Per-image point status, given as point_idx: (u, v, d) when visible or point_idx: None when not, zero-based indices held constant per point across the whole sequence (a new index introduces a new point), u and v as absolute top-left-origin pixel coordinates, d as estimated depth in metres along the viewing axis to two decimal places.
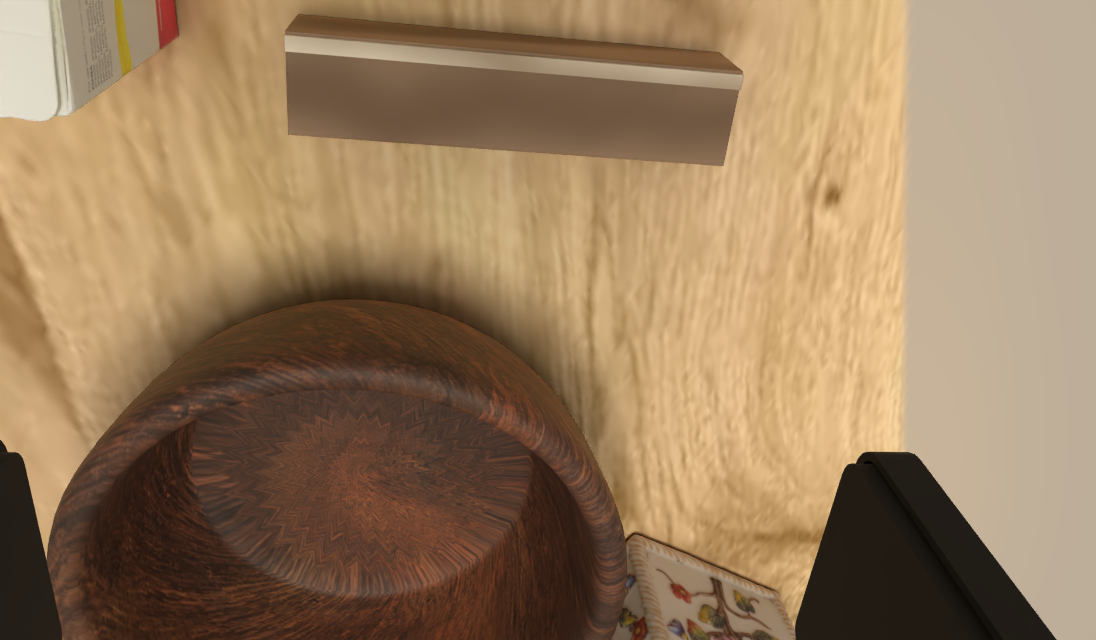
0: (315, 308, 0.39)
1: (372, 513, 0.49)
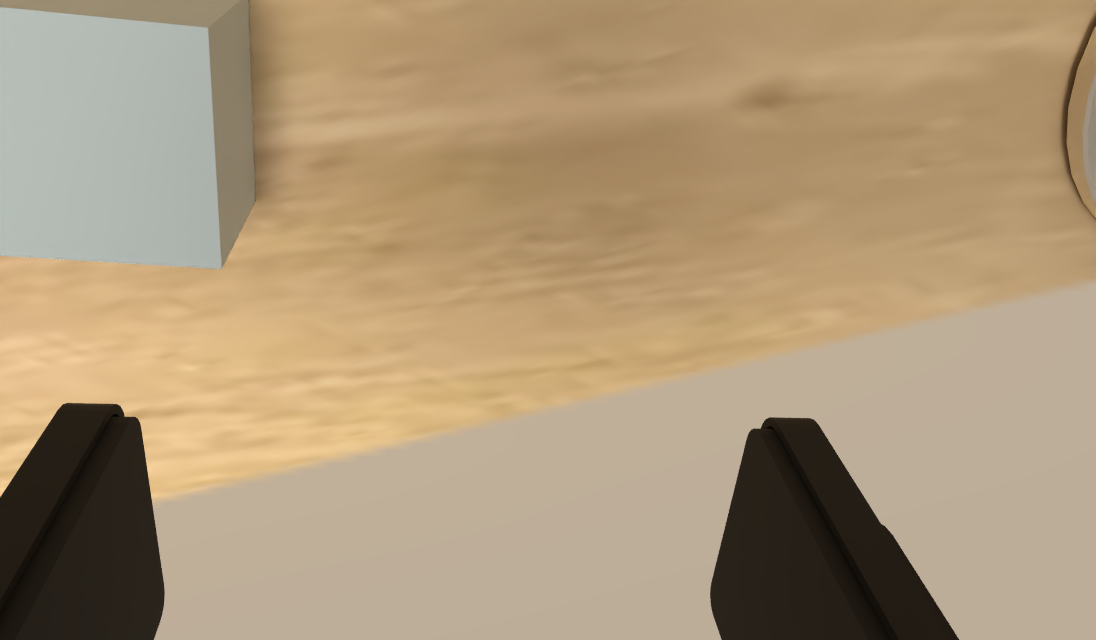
0: None
1: None
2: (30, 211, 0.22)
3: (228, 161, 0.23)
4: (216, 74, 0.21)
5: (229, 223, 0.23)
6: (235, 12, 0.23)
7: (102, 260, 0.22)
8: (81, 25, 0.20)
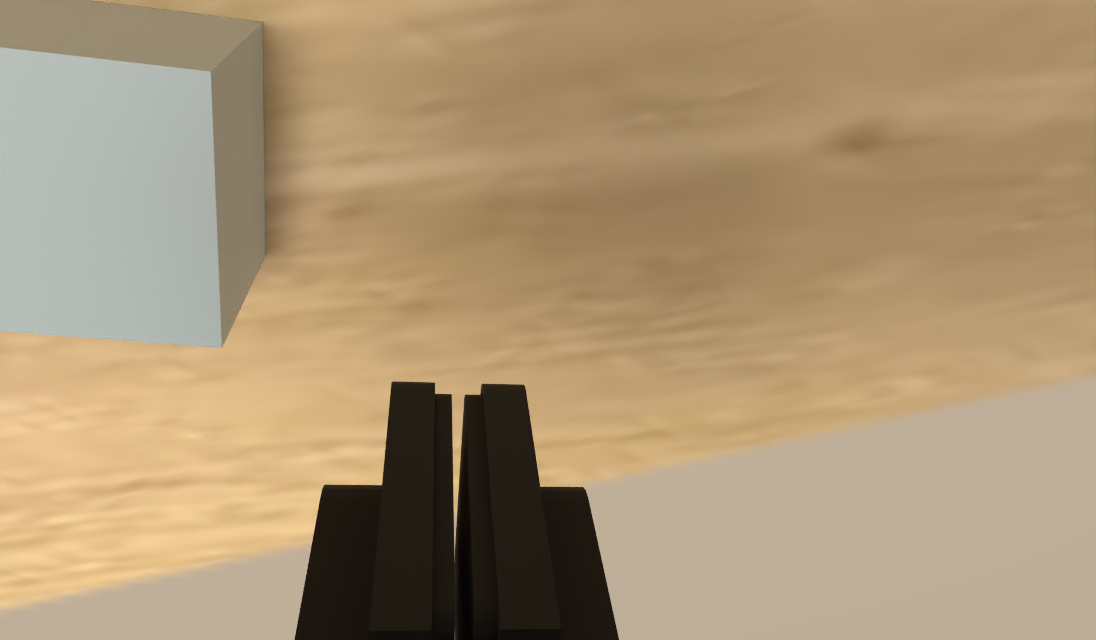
0: None
1: None
2: None
3: (233, 221, 0.20)
4: (220, 124, 0.18)
5: (233, 291, 0.20)
6: (246, 46, 0.19)
7: (82, 335, 0.19)
8: (58, 66, 0.16)
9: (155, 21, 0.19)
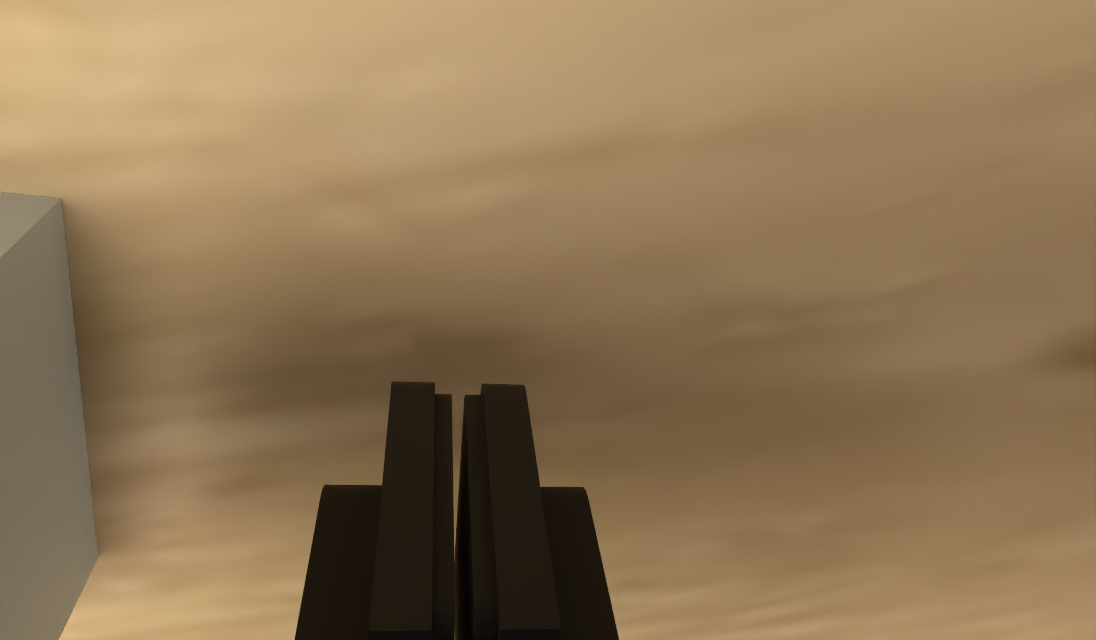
0: None
1: None
2: None
3: None
4: None
5: None
6: (2, 274, 0.10)
7: None
8: None
9: None
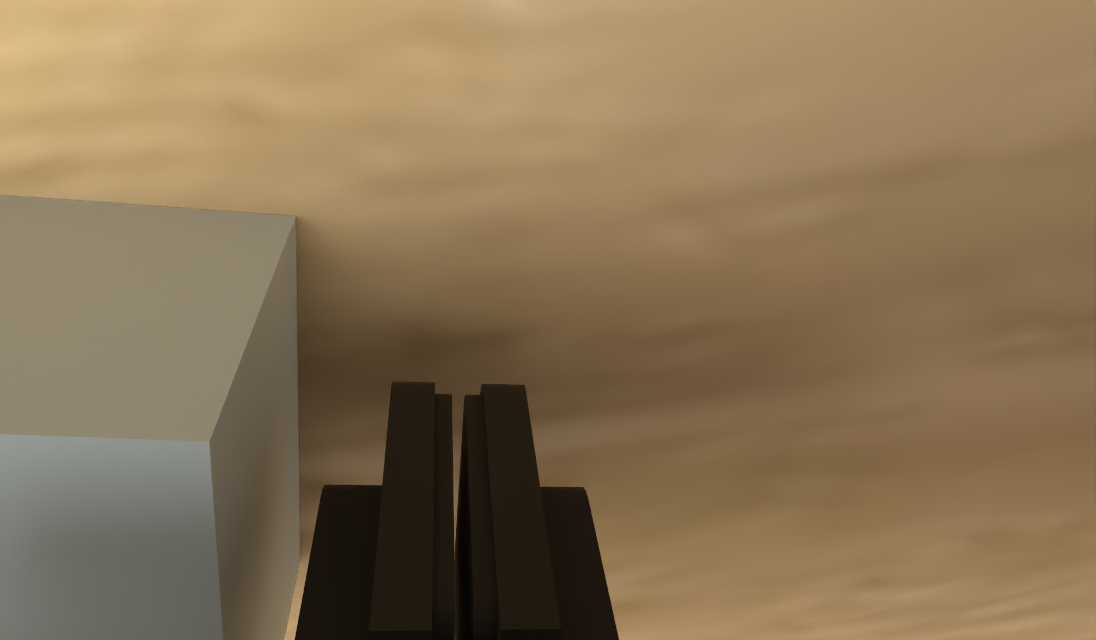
0: None
1: None
2: None
3: (254, 620, 0.10)
4: (230, 506, 0.08)
5: None
6: (271, 295, 0.10)
7: None
8: None
9: (96, 249, 0.10)
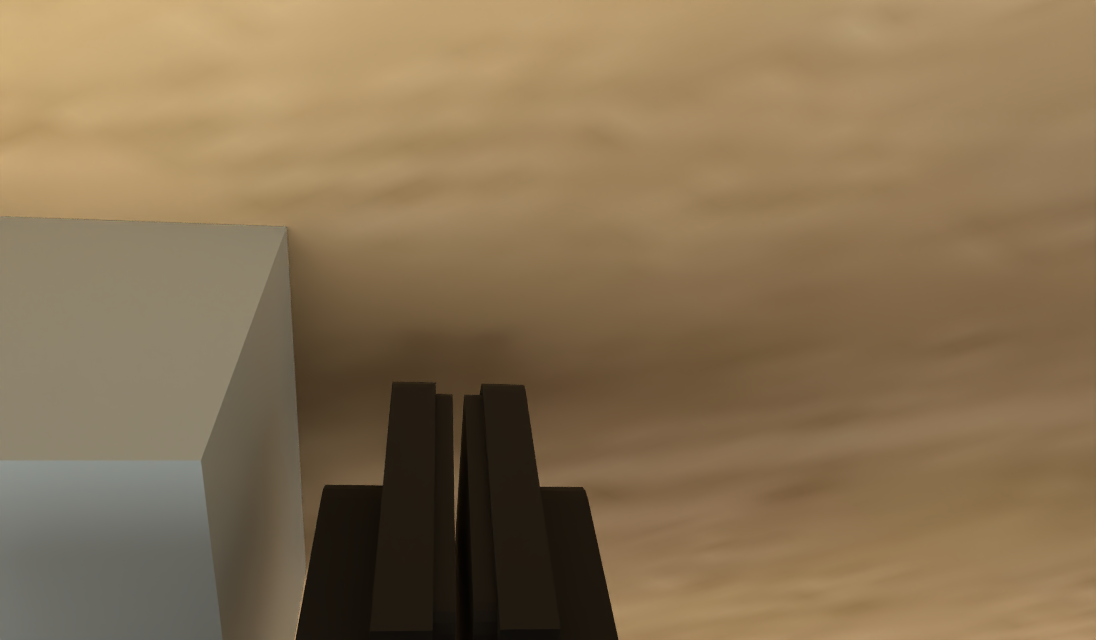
0: None
1: None
2: None
3: (259, 635, 0.10)
4: (227, 523, 0.08)
5: None
6: (263, 308, 0.10)
7: None
8: None
9: (86, 268, 0.10)
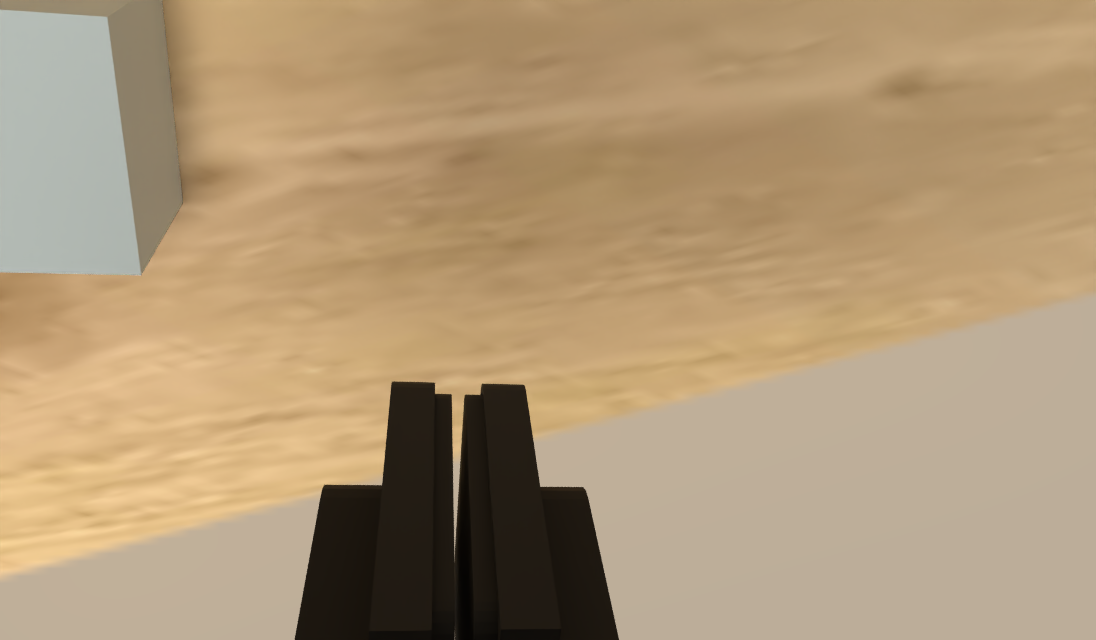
0: None
1: None
2: None
3: (144, 160, 0.22)
4: (121, 67, 0.20)
5: (149, 226, 0.22)
6: (144, 2, 0.21)
7: (11, 270, 0.21)
8: None
9: None
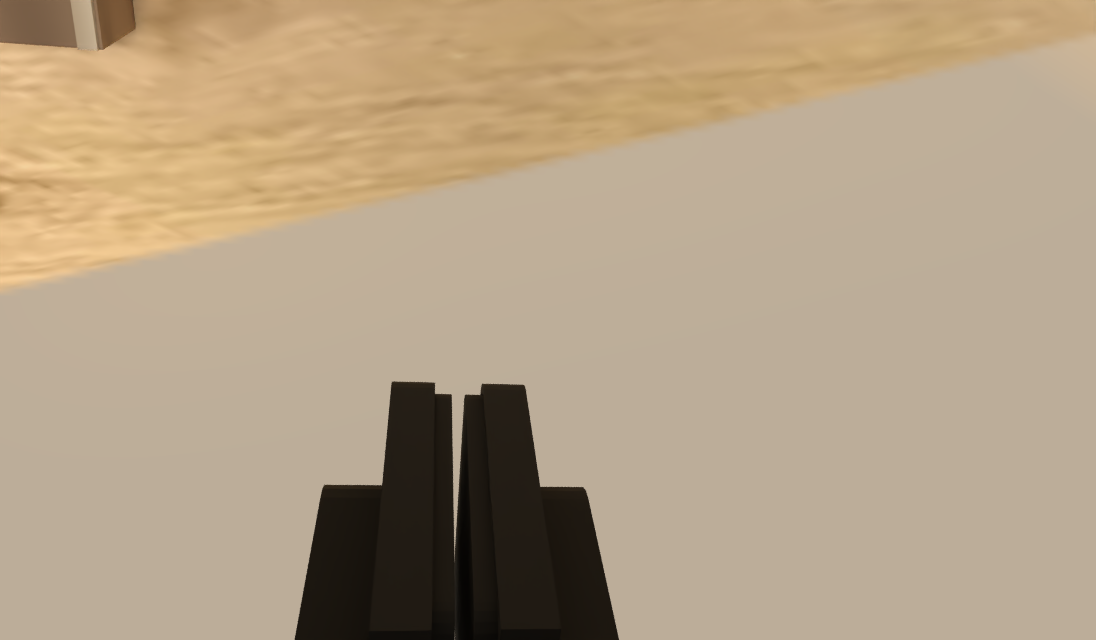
0: None
1: None
2: None
3: None
4: None
5: None
6: None
7: None
8: None
9: None
